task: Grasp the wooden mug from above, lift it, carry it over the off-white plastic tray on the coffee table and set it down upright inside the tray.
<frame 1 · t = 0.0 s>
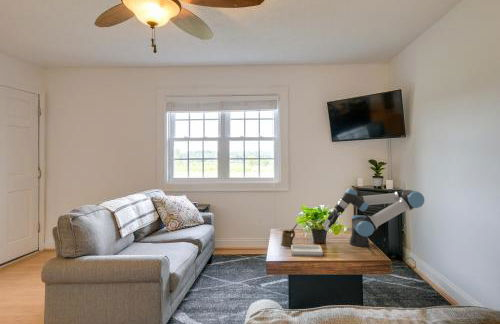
hand: (324, 228, 240), 15 cm above the table, tool tilted 35°, fingers open, 13 cm apart
tray: (306, 252, 230), on the table
wooden mug: (289, 245, 250), on the table
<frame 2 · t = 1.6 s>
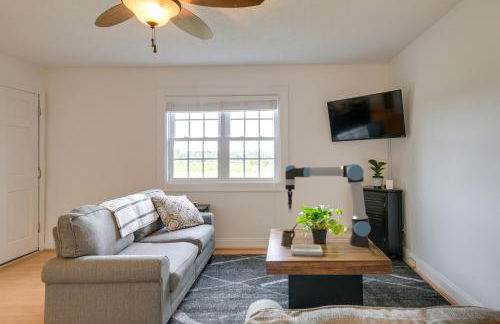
hand: (289, 211, 249), 28 cm above the table, tool pointing down, fingers open, 13 cm apart
nothing on the table moved.
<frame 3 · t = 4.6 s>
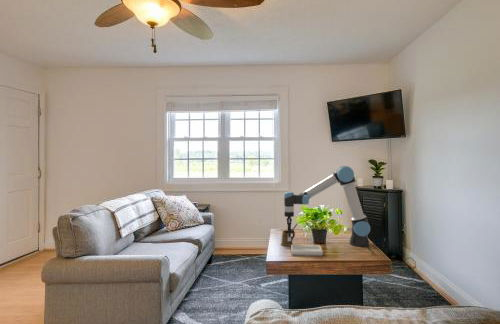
hand: (289, 239, 250), 4 cm above the table, tool pointing down, fingers closed on wooden mug, 7 cm apart
wooden mug: (289, 245, 250), on the table, touching gripper
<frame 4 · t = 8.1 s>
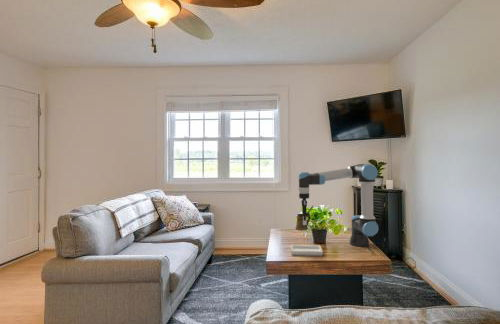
hand: (304, 223, 232), 21 cm above the table, tool pointing down, fingers closed on wooden mug, 7 cm apart
wooden mug: (304, 229, 231), point 16 cm above the table, touching gripper
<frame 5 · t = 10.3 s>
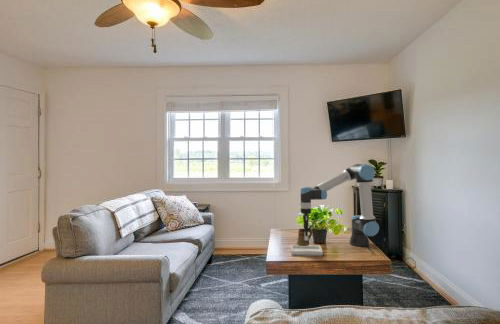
hand: (306, 238, 230), 10 cm above the table, tool pointing down, fingers closed on wooden mug, 7 cm apart
wooden mug: (306, 245, 230), point 6 cm above the table, touching gripper
when the fingers open (7 cm above the table, at t = 11.7 s): wooden mug drops 2 cm, resting on tray.
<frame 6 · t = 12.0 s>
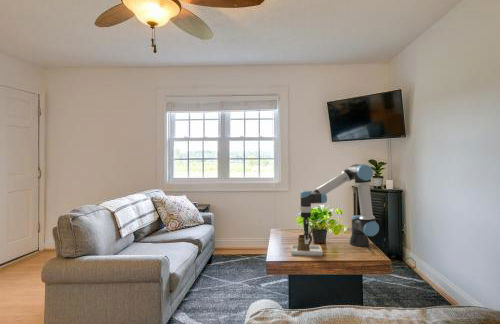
hand: (306, 241, 230), 8 cm above the table, tool pointing down, fingers open, 10 cm apart
wooden mug: (306, 251, 230), point 1 cm above the table, touching tray
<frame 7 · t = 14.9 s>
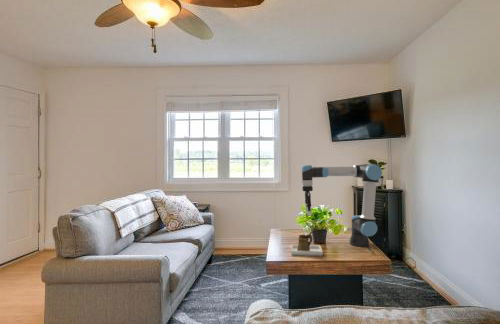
hand: (308, 213, 234), 28 cm above the table, tool pointing down, fingers open, 13 cm apart
nothing on the table moved.
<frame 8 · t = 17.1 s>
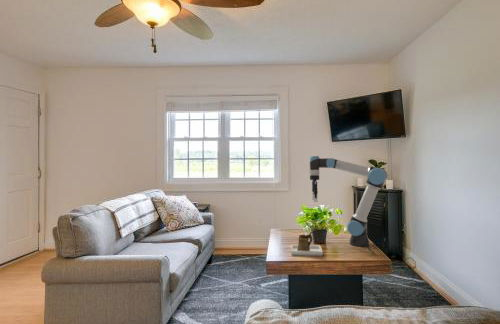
hand: (314, 200, 254), 35 cm above the table, tool pointing down, fingers open, 13 cm apart
nothing on the table moved.
at the end: wooden mug inside the target area on the tray (0.4 cm from its centre), point 0.8 cm above the tray's base; wooden mug tilted 0°; the gripper is holding nothing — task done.
